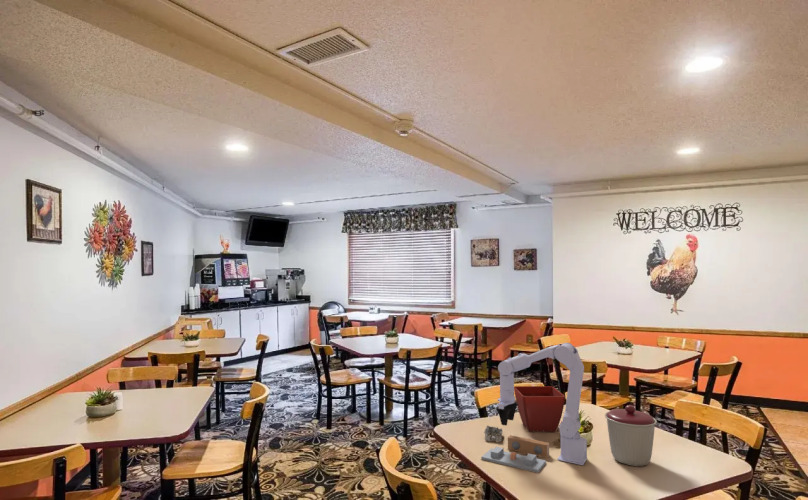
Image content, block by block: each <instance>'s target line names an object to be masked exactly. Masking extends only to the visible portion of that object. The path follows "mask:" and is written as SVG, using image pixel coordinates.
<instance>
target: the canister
mask: <svg viewBox="0 0 808 500" xmlns="http://www.w3.org/2000/svg"><path fill="white" fill-rule="evenodd" d="M604 417H605V419H606V424H607V431H608V439H609V446H610V453H611V454H612V457H613V459H615V460H616V461H617V462H618V463H621V464H624V465H628V466H632V467H643V466H644V467H645V466H646V465H648V464H649V463H650V462H651V459H652V454H653V447H654V446H653V445H654V437H655V428H656V427H655V426H656V425H657V424H658V421H657V419H656V418H655V417H653V416H652V415H650V414H648V413H646V412H645V411H640V410H636V408H635V406H634V405H631V404H628V405H626V406H625V408H617V409H612V410H609V411H608V412H606V413H605V414H604Z"/></svg>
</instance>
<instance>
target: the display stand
mask: <svg viewBox="0 0 808 500" xmlns="http://www.w3.org/2000/svg"><path fill="white" fill-rule="evenodd" d="M480 458H481V460H482V461H487V462H492V463H494V464H495V463H496V464H500V465H504V466H508V467H511V468H516V469H521V470H525V471H529V472H532V473H533V472H534V473H537V474H538V473H540V472H541V470H542V468H543V467H545V465H546V463H547V460H546V459H545V460H544V459H542V458H541V459H540V458H537V455H533V454H526V455H522V454H520V453H519V454H517V452H516V451H512V452H509V451H504V447H500V446H494V448H490V449H489V450H487V452H485V453H484V454H483V455H482V456H481V457H480Z"/></svg>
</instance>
